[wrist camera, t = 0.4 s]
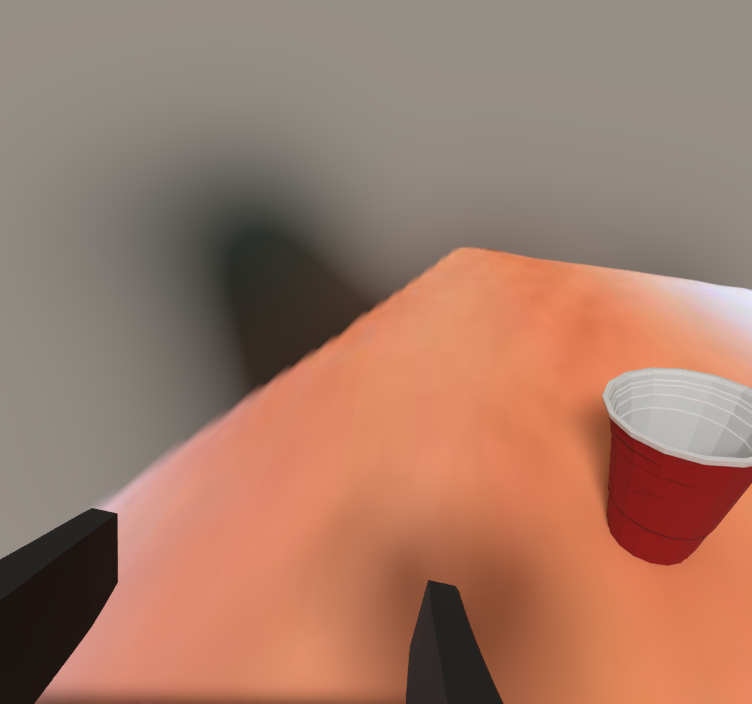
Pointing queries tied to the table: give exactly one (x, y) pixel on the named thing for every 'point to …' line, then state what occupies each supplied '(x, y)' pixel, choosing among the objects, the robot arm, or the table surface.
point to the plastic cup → (675, 458)
